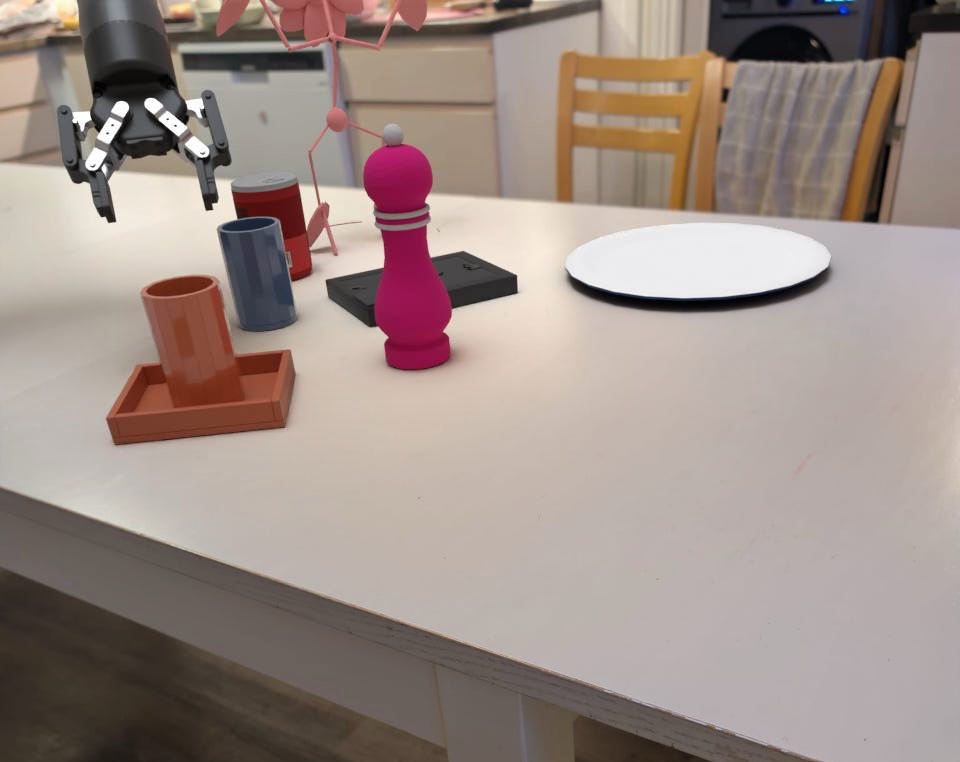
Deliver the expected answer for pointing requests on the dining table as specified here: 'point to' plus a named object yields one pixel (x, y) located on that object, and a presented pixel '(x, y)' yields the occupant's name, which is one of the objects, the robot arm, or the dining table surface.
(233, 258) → the blue cup
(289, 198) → the canned food
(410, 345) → the pepper mill
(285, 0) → the figurine
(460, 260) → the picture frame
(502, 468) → the dining table surface
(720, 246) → the plate
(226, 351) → the terracotta cup
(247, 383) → the tray
